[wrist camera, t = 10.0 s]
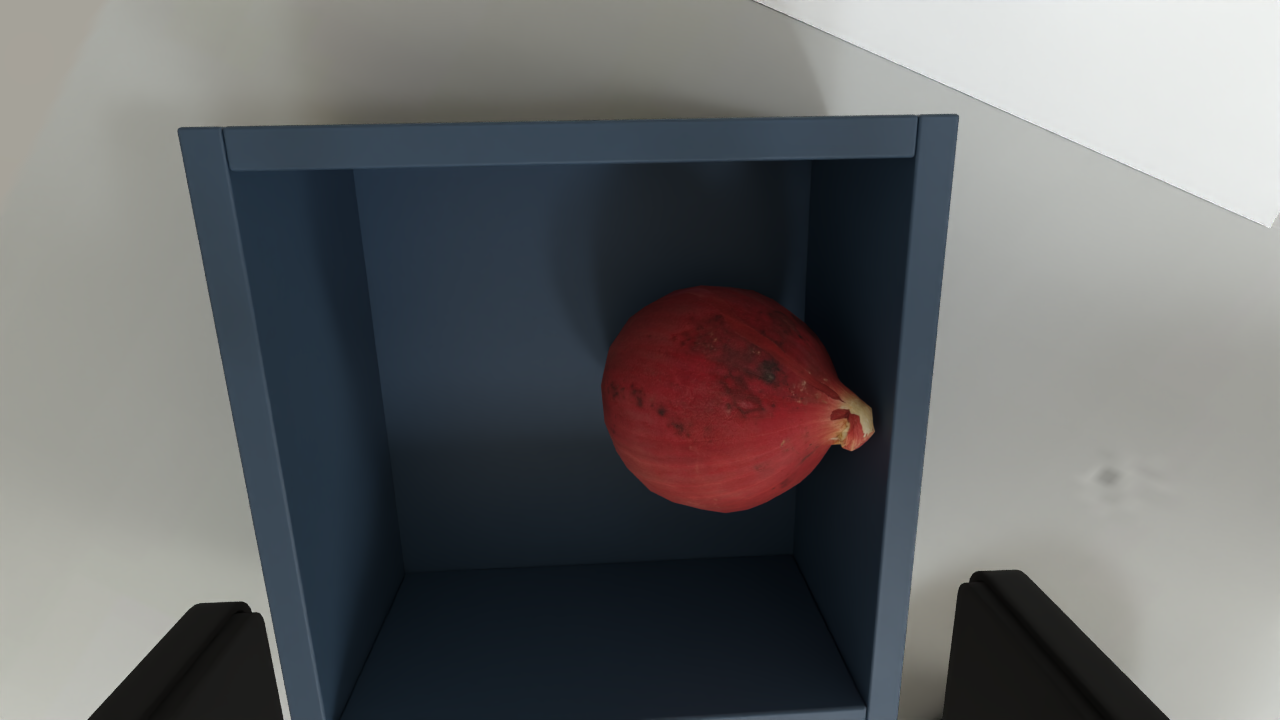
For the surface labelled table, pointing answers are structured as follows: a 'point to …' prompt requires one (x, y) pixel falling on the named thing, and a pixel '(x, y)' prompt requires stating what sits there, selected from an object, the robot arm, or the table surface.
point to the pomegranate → (725, 399)
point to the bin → (564, 408)
